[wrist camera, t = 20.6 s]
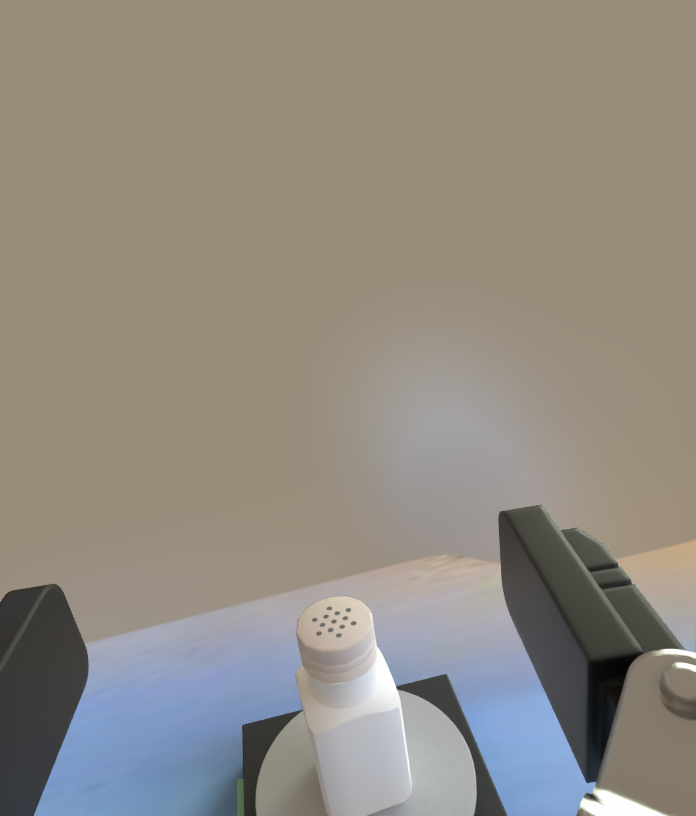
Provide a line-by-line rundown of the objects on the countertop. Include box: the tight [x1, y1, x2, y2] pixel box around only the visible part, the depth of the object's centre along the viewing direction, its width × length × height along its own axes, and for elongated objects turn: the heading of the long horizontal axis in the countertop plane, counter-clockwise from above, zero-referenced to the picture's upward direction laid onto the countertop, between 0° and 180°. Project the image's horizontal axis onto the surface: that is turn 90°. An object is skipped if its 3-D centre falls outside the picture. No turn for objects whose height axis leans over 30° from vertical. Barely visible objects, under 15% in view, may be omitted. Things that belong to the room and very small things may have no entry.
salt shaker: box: [296, 596, 412, 816], centre depth 27 cm, size 4×4×10 cm
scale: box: [237, 674, 507, 816], centre depth 30 cm, size 12×12×4 cm
